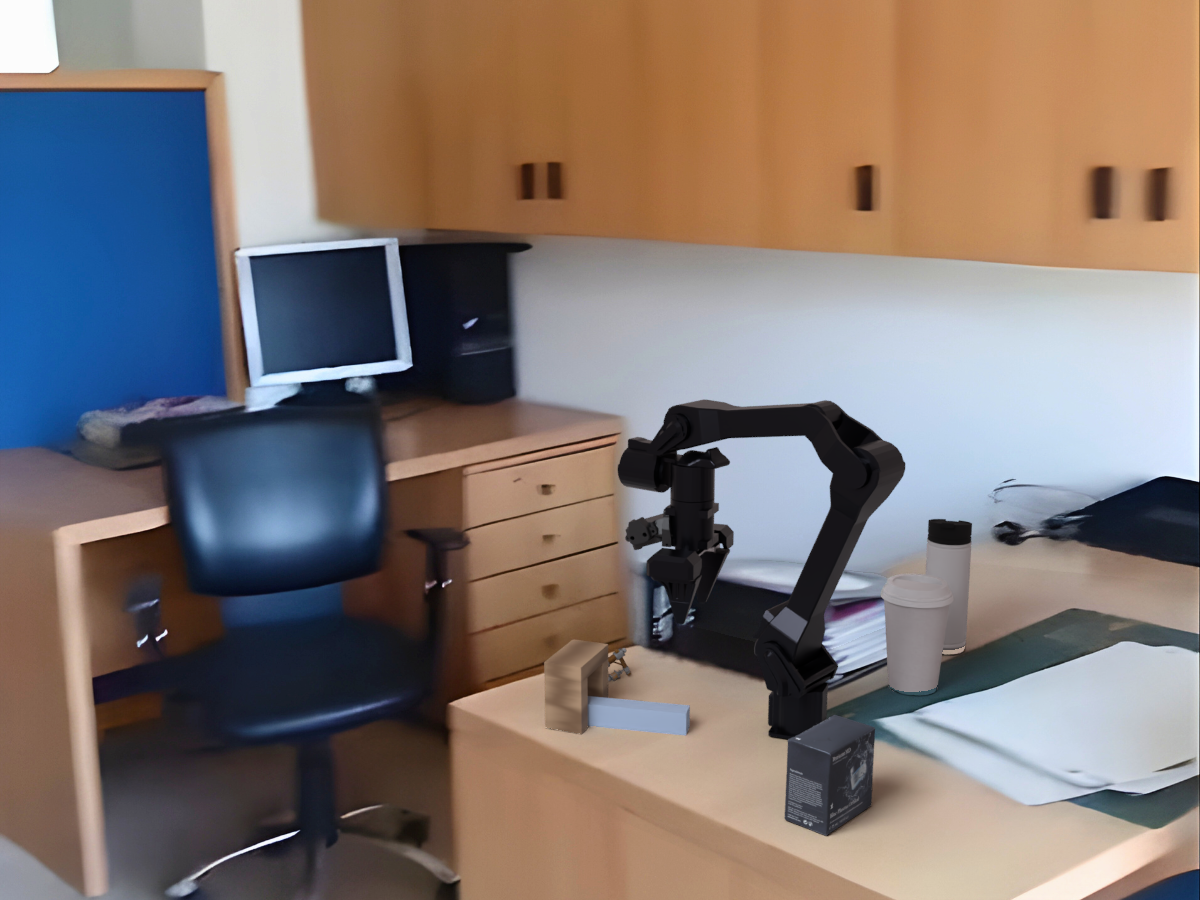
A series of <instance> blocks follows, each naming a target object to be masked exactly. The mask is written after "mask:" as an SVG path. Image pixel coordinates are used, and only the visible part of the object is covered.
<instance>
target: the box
mask: <svg viewBox="0 0 1200 900" xmlns="http://www.w3.org/2000/svg"><path fill="white" fill-rule="evenodd" d="M875 738H876V727H874V726H872V725H869V724H866V723H863V722H859V721H856V720H853V719H850V718H847V717H843V716H840V715H837V714H833V715H831V716H829V717H827V720H825V721H823V722H821V723H820V724H817V725H816V726H814V727H812V728H810V729H808V730H806V731H805V732H803V733H801V734H799V735H797V736H795V737H792V738H790V739H787V750H786V751H787V753H786V756H787V757H786V778H785V797H784V798H785V801H784V816H783V817H784V821H787V822H789V823H793V824H795V825H798V826H800V827H802V828H805V829H807V830H810V831H812V832H816V833H818V834H819V835H823V836H828V835H829V834H831V833H832V832H834V831H835V830H837V829H838V828H840V827H841V826H843V825H844V824H846V823H847V822H849V821H851V820H852V819H854V818H855V817H856V816H858V815H860V814H861V813H862V812H864V811H866V810H867V809H868V808H870V807H872V801H873V800H872V799H873V780H874V779H873V777H874V774H873V773H874V757H875V755H874V754H875V741H876V740H875Z"/></svg>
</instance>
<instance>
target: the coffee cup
mask: <svg viewBox="0 0 1200 900" xmlns="http://www.w3.org/2000/svg"><path fill="white" fill-rule="evenodd" d="M880 597H881V598H882V599H883V604H884V605H883V606H884V622H885V623H884V624H885V643H886V645H885V646H886V647H885V648H886V663H887V664H886V665H887V666H886V667H887V685H888V684H889V685H890V687H892V688H894V689H895V690H899V691H904V692H919V691H920V692H921V691H928V690H931V689H934V688H936V687H937V685H939V679H940V672H941V665H942V659H943V655H942V652H943V645H944V638H945V631H946V624H947V617H948V611H949V604H951V603H952V602H953V600H954V599H953V594H952V592H951V590H950V589H949V587H948V583H947V582H946V581H945V580H943V579H941V578H939V577H935V576H931V575H926V573H899V574H895V575H892V576H889V577H888V578H887V579H886V583H884V585H883V586H882V589H881V591H880ZM937 688H938V687H937Z"/></svg>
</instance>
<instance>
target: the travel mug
mask: <svg viewBox="0 0 1200 900" xmlns="http://www.w3.org/2000/svg"><path fill="white" fill-rule="evenodd" d="M927 523H928V524H927V525H928V526H927V533H928V534H927V539H926V542H927V543H926V556H925V557H926V559H925V575H931V576H935V577H939V578H941V579H943V580H945V581H946V582H947V583H948V587H949V589H950V590H951V592H952V594H953V599H954V600H953V602H952V603H951V604H949V611H948V617H947V624H946V631H945V638H944V645H943V650H955V649H959V648H962V647H964V646H965V645H967V629H968V628H967V627H968V614H969V611H968V610H969V592H970V577H971V558H972V534H973V533H972V532H973V531H972V530H973V523H972V522H970V521H966V520H958V521H955V520H947V519H946V518H931V519H928V521H927Z"/></svg>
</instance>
